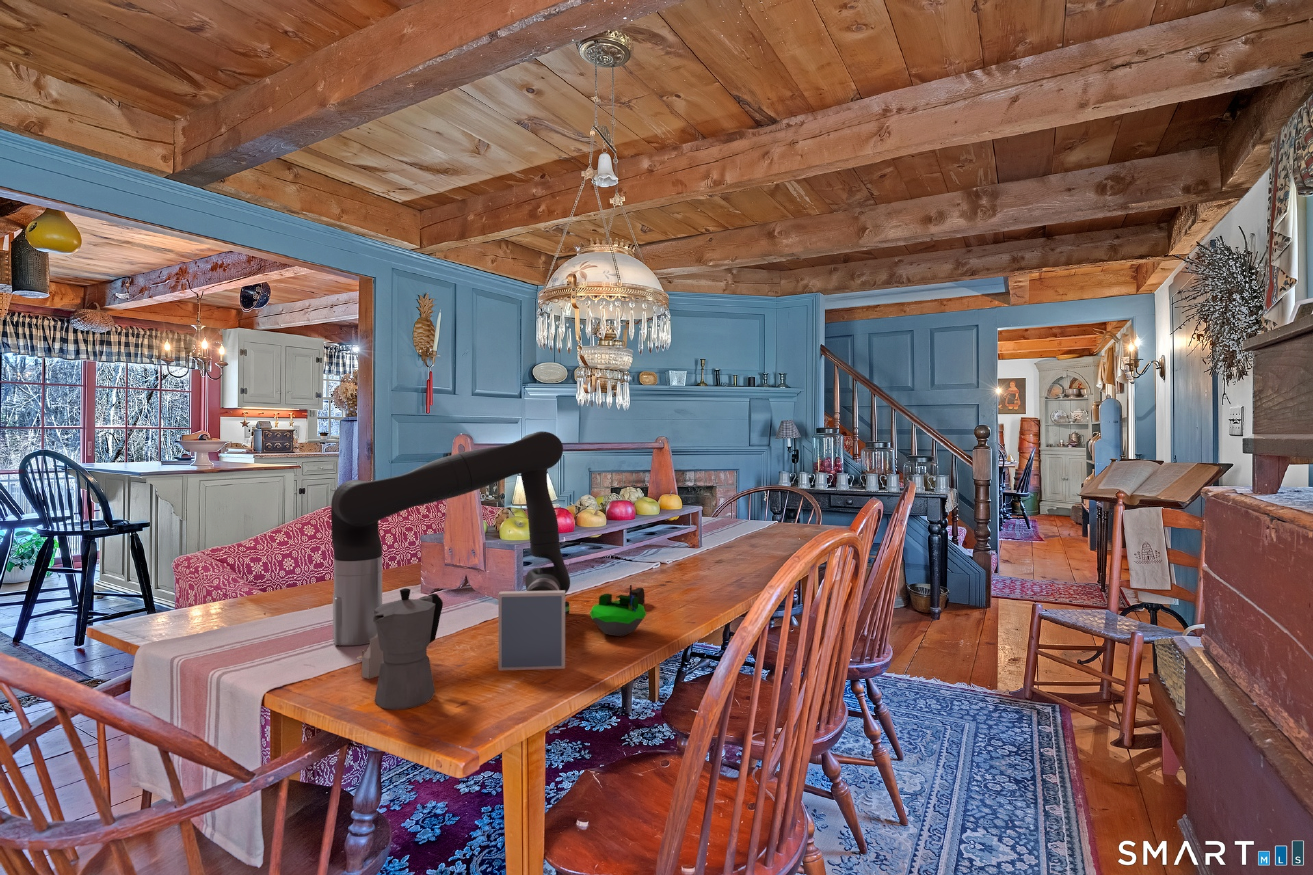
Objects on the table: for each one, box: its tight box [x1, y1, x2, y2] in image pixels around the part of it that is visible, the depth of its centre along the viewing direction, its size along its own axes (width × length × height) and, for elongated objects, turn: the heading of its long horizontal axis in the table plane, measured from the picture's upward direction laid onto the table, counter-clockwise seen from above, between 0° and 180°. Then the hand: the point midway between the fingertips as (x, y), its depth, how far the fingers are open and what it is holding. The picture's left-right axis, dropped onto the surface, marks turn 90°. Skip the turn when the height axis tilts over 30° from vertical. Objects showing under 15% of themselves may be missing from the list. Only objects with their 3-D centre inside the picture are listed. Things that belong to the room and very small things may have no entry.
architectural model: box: [356, 634, 383, 680], centre depth 122 cm, size 3×7×7 cm, turn 155°
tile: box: [497, 590, 566, 671], centre depth 124 cm, size 12×2×14 cm, turn 95°
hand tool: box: [617, 587, 646, 606], centre depth 162 cm, size 19×4×5 cm, turn 152°
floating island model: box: [589, 584, 647, 637], centre depth 145 cm, size 12×12×11 cm
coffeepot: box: [373, 587, 444, 711], centre depth 110 cm, size 15×9×18 cm, turn 159°
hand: (534, 620), depth 128 cm, fingers closed
